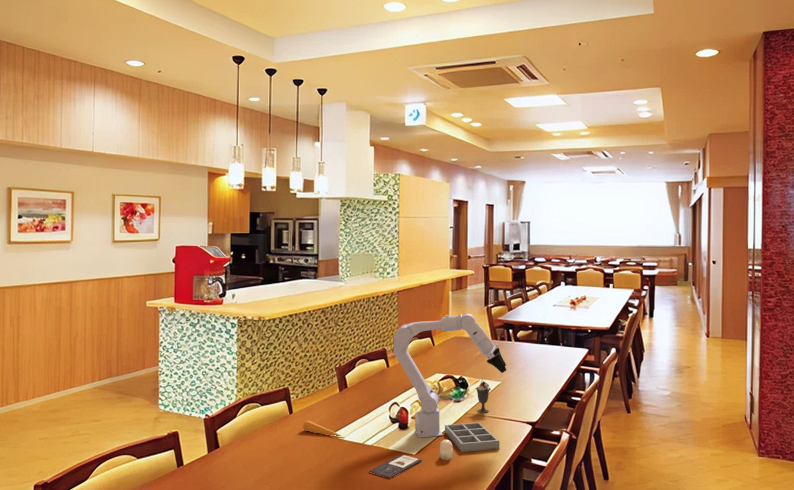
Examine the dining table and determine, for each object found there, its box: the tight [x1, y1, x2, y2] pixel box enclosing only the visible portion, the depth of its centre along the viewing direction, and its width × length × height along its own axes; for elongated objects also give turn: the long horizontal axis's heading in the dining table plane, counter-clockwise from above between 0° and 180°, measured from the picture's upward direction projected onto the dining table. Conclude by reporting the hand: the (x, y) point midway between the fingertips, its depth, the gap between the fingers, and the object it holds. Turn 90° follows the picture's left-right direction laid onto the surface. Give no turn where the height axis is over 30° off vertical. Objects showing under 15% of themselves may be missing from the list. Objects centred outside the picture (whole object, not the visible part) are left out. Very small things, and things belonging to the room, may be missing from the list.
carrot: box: [302, 420, 342, 436], centre depth 231 cm, size 20×4×4 cm, turn 61°
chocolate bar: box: [368, 454, 423, 479], centre depth 198 cm, size 9×1×18 cm
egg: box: [439, 439, 454, 461], centre depth 206 cm, size 4×4×6 cm
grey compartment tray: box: [444, 421, 500, 453], centre depth 222 cm, size 14×21×3 cm
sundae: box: [475, 378, 492, 414], centre depth 258 cm, size 7×7×15 cm
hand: (504, 369), depth 225 cm, fingers open, 7 cm apart
